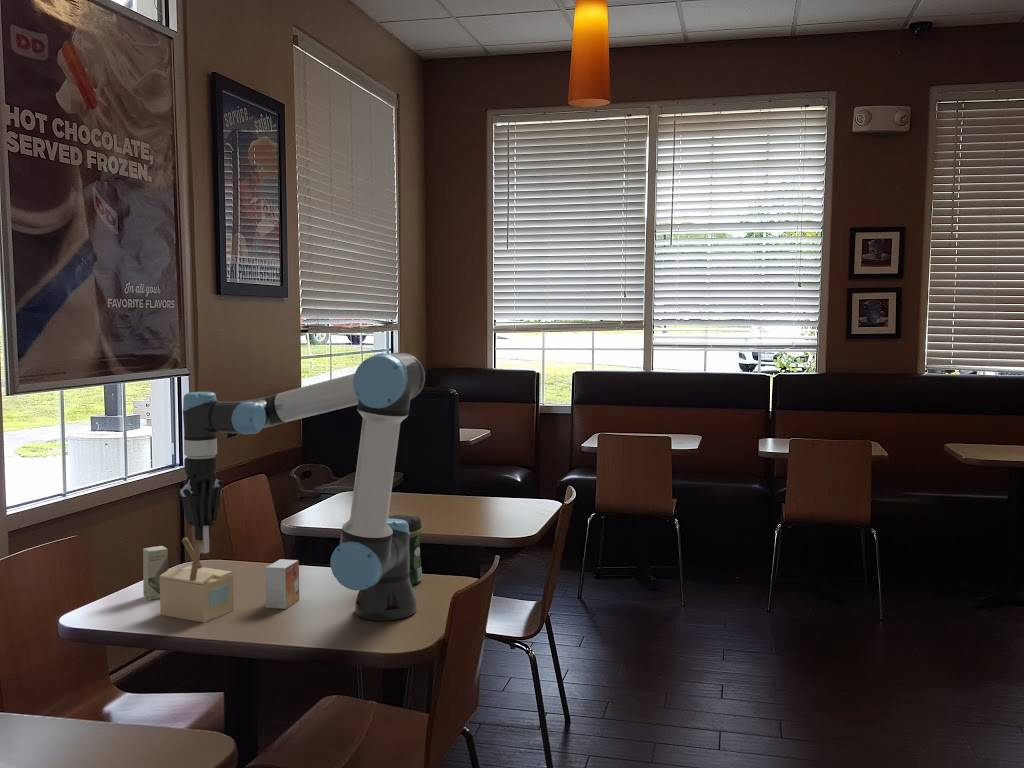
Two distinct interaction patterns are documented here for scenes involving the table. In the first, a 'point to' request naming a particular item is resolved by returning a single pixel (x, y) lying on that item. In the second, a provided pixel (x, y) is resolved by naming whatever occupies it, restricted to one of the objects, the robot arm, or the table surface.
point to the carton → (196, 598)
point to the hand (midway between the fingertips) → (203, 552)
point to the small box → (282, 583)
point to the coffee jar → (413, 546)
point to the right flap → (191, 551)
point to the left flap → (187, 574)
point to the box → (153, 570)
